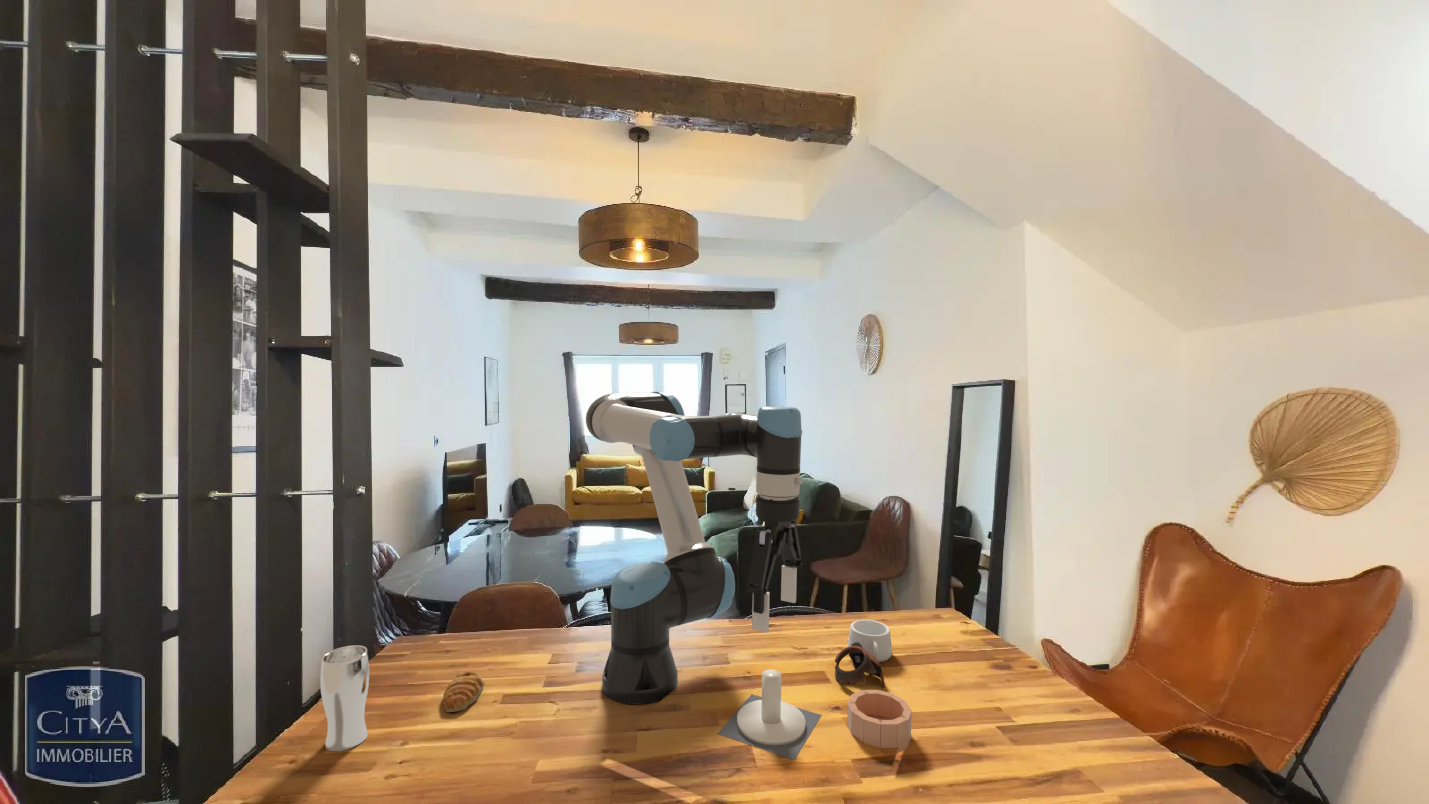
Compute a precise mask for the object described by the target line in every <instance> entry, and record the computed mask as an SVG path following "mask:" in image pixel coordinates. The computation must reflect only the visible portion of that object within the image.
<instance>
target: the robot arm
mask: <svg viewBox="0 0 1429 804" xmlns="http://www.w3.org/2000/svg"><path fill="white" fill-rule="evenodd" d="M684 411H685V410H684V408H683V406H682V404H681V402H680V401H679V400H678V398H677V397H676V396H675V395H673V394H670V392H669V393H668V392H660V391H651V392H612V393H608V394H605V395H602V396H600V397H598V398H597V399H595V400H594V401H592V403H590V405H589V408H588V409H587V412H586V415H585V425H586V428H587V430H588V432H589V434H591V436H592V437H594V438H595V439H597V440H599V441H602V442H605V443H609V444H612V443H613V444H615V443H625V444H628V445H632V448H633V451H634V453H635V454H637V455H639V456H641V458H642V461H643V466H644V469H645V472H646V475H647V480H648V483H649V488H650V491H651V495H652V499H653V501H654V506H655V509H656V513H657V518H658V522H659V525H660V528H661V533H662V537H663V540H664V544H665V547H666V552H667V555H666V557H665V559H664V560H663V563H662V562H658V561H651V562H646V561H644V562H639V563H635V564H632V565H629V566H626V567H624V568H623V569H621V570H620V571H618V572H617V573H616V574H615V576H614V578H613V579H612V581H611V590H610V591H611V592H610V596H609V601H610V630H611V631H610V636H611V637H610V644H611V645H610V650H609V653H608V656H607V659H606V662H605V666H604V669H603V671H602V679H601V680H602V681H601V685H602V686H601V687H602V691H603V692H604V693H603V694H604V695H606V696H607V697H608V698H609V699H611V700H612V701H615V702H618V703H623V704H627V705H644V704H651V703H654V702H657V701H661V700H663V699H664V698H667V697H668V696H669V694H672V692H673V691H674V690H675V689H676V688H677V686H678V682H679V681H678V680H679V678H678V675H679V673H678V667H677V665H676V662H675V659H674V656H673V652H672V649H671V646H670V629H671V628H674V627H677V626H678V627H679V626H682V625H685V624H688V623H693V622H697V621H701V620H704V619H712V618H713V617H716V616H717V615H720V614H723V613H725V612H726V611H727V610H728V609H730V606H731V605H732V603H733V600H734V597H735V594H736V593H735V592H736V582H735V581H736V580H735V574H734V571H733V569H732V565H731V564H730V562H728V560H727V559H726V558H724V557H720V556H717V552H716V550H715V547H714V546H712V545H710V544H709V543H707V542H706V539H705V537H704V532H703V530H702V526H701V524H700V523H701V522H700V520H699V516H698V513H697V509H696V506H695V503H694V499H693V497H692V493H691V489H690V486H689V483H688V479H687V475H686V473H685V472H686V471H685V470H684V466H683V462H682V461H684V460H693V459H695V460H696V459H701V458H702V459H704V458H717V457H718V458H719V457H727V456H730V457H731V456H748V457H754V458H756V477H755V479H756V480H755V483H756V484H755V492H756V493H757V494H758V495H757V496H756V497H755V515H756V517H757V518H758V519H759V520H761V521H763V522H764V525H763V530H756V532H755V537H754V538H755V539H754V541H755V542H754V546H753V547H754V549H753V553H752V557H751V563H750V568H749V569H750V570H749V573H748V579H747V584H746V589H745V590H746V592H748V593H752V607H751V613H752V614H751V629H752V630H754V631H758V632H762V633H769V632H770V597H771V596H770V593H771V592H770V591H768V589H769V585H770V582H771V578H772V574H773V571H774V567H775V564H776V563H775V562H776V560H777V557H780V556H781V559H782V563H783V565H781V577H780V578H781V582H780V586H781V587H780V601H781V602H782V601H783V602H788V603H791V604H792V603H793V604H796V602H797V580H798V579H797V575H798V574H797V573H798V572H797V570H798V567H799V568H801V567H802V565H803V561H802V560H801V559H802V552H801V544H800V539H799V533H798V527H797V524H798V522H797V520H798V519H799V517H800V498H799V496H798V495H800V485H802V484H803V479H802V478H801V451H802V450H801V449H802V434H803V430H802V414H801V411H800V410H799V409H798V408H796V407H792V406H783V405H781V406H778V405H777V406H776V405H773V406H771V405H770V406H769V405H768V406H767V405H766V406H761V407H759V408H758V410H757V415H754V414H746V413H744V412H728V413H727V412H726V413H723V414H720V415H719V414H718V415H712V414H711V415H685V412H684Z"/></svg>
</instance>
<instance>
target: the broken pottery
mask: <svg viewBox="0 0 1429 804" xmlns="http://www.w3.org/2000/svg"><path fill="white" fill-rule="evenodd" d="M847 656H849V658H850V660H851V661H852V665H853V666H854V669H853V670H843V669H841V668H840V663H841V661H842V660H843V659H844V658H845V657H847ZM834 662H835V663H836V664H835V665H834V677H835V680H836V682H839V683H841V684H845V685H847V686H848V685H855V684H857V683H861V684H863V685H866V684H867V682H866V678H865V674H867V675H869V676H874V677H876V678H879V679H880V682H881V686H882V688H883V689H885V688H886V683H885V678H884V677H885V676H884V673H883V669H882V666H881V664H880V662H878V660H877V659H876V658H875V657H874V656H873V655H872V654H871V653H869V652H868V651H866V650H865V649H863V648H862V645H861V644H860V643H859V642H855V643H853V644H852V645H851V646H850V647H848V646H847V647H845V648H843V649H842V650H841V651H839V652H838V653H837V655H836V656H835V658H834ZM884 687H885V688H884Z"/></svg>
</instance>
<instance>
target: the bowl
mask: <svg viewBox="0 0 1429 804" xmlns="http://www.w3.org/2000/svg"><path fill="white" fill-rule="evenodd" d="M912 711H913V710H912V709H911V707H910V706H909V704H908V702H907V701H906V700H904V699H903V698H901V697H900V696H898V695H896V694H894V693H891V692H887V691H884V690H879V689H862V690H859V691H856V692H854V693H852V694H851V695H850V697H849V699H848V701H847V711H846V712H847V721H846V723H847V727H848V729H849V732H850V734H851V735H852V736H853V737H855V738H856V739H858V740H859V741H860V742H861V743H864V744H865V745H868V746H872V747H875V748H877V749H878V748H879V749H897V750H896V754H898V753H900V752H902V751H905V750H906V749H908V748H909V745H910V743H911V739H912V713H913V712H912Z"/></svg>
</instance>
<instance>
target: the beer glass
mask: <svg viewBox="0 0 1429 804" xmlns="http://www.w3.org/2000/svg"><path fill="white" fill-rule="evenodd" d="M319 677H320V683H319V684H320V695H321V701H322V704H323V709H324V713H325V716H326V720H327V721H326V722H327V734H326V738H325V742H324V743H325V745H324V746H325V749H326V750H327V751H329V752H343V751H347V750H350V749H353V748H355V747H357V746H359V745H361V744H362V743H363V742H364V741H365V740H366V739H367V737H368V729H367V725H366V720H365V710H366V704H367V698H368V692H369V684H370V665H369V654H368V648H367V646H363V645H361V644H360V645H354V644H353V645H352V644H351V645H346V646H342V647H338V648H335V649H332V650H331V651H328V652H326V653H325V654H324V655H323V656H322V657H321V665H320V676H319Z"/></svg>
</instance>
